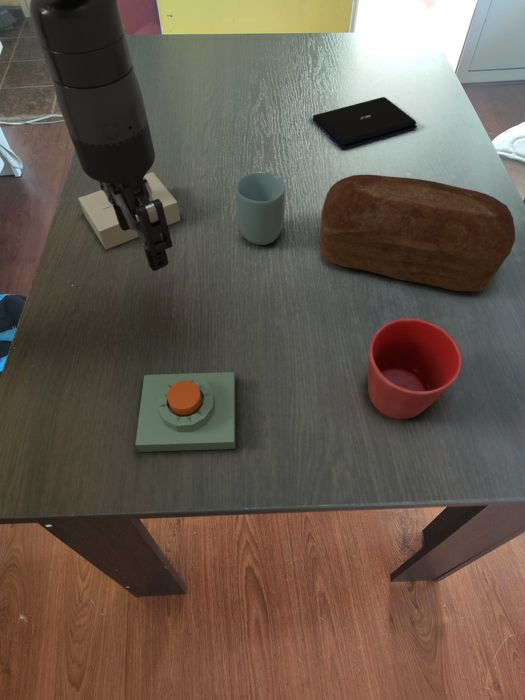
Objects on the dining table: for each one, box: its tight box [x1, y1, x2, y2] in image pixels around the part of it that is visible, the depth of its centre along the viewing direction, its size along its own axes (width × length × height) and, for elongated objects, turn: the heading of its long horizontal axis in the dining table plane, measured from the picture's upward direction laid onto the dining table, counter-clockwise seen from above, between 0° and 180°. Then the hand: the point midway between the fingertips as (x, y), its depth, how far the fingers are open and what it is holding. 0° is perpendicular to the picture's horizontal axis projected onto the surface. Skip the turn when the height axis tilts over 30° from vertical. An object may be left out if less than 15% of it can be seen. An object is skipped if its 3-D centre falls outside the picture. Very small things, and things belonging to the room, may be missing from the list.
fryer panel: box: [77, 171, 181, 251], centre depth 81 cm, size 14×10×4 cm
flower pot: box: [367, 317, 463, 420], centre depth 58 cm, size 11×11×10 cm
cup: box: [235, 171, 287, 246], centre depth 76 cm, size 8×8×10 cm
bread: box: [319, 174, 516, 292], centre depth 72 cm, size 14×28×12 cm, turn 73°
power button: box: [167, 381, 202, 416], centre depth 57 cm, size 4×4×2 cm
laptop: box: [312, 96, 418, 150], centre depth 99 cm, size 16×20×2 cm
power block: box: [134, 371, 236, 453], centre depth 59 cm, size 12×10×4 cm
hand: (143, 246), depth 58 cm, fingers open, 8 cm apart
